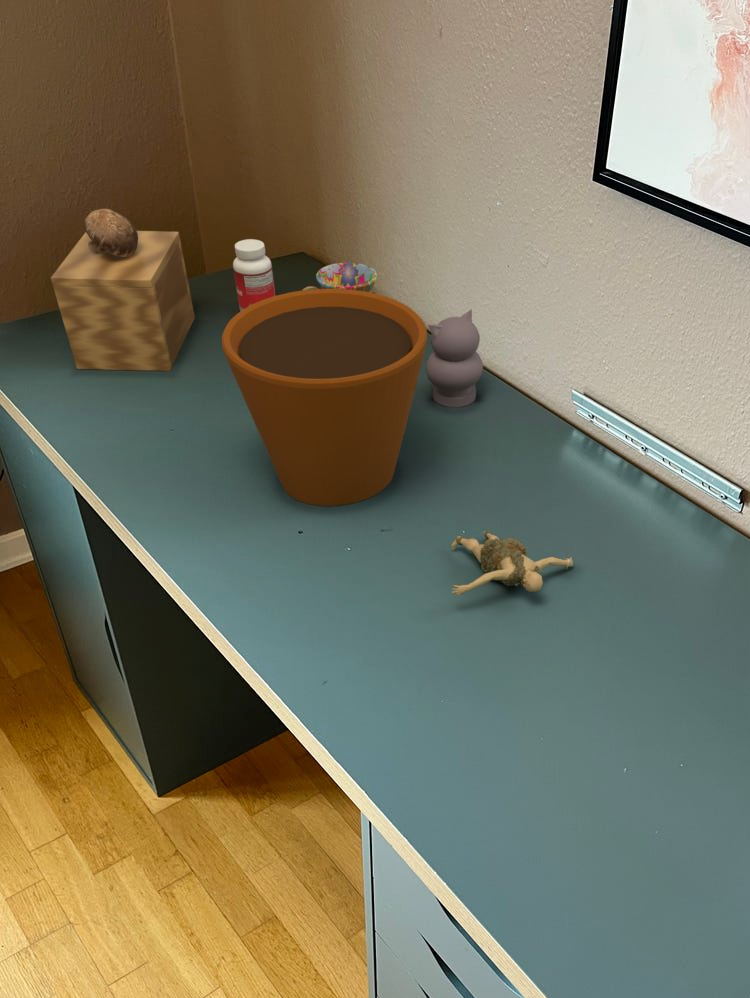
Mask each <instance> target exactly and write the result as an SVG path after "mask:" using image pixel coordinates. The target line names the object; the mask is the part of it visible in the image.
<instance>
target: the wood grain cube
mask: <svg viewBox="0 0 750 998" xmlns="http://www.w3.org/2000/svg"><path fill="white" fill-rule="evenodd" d="M136 231H137V234H138V245H137V249H136V250H135V252H134V253H133V255H131V256H127V257H121V256H116V255H114V254H112V253H110V252H108V253H106V254H96V253H94V252H92V251H91V250H90V249H89V246H88V242H89V241H90V240H91V239H90V238H89V236H88V234H87V233H86V231H85V232H84V234H83V235H82V236H81V238H80V239H79V240H78V242H77V243H76V244H75V245H74V247H73V248H72V249H71V251H70V252H69V253H68V254H67V256H66V257H65V258H64V260H63V261H62V262H61V264H60V265H59V266H58V268H57V269H56V270H55V272H54V273H53V274H52V275H51V276H50V280H51V284H52V287H53V291H54V294H55V295H54V296H55V298H56V302H57V305H58V309H59V312H60V316H61V318H62V323H63V325H64V329H65V332H66V336H67V339H68V343H69V346H70V351H71V354H72V356H73V360H74V364H75V367H76V370H103V371H105V370H106V371H111V370H112V371H154V372H155V371H157V372H170V371H171V370H172V368H173V367H174V363H175V362H176V359H177V357H178V355H179V353H180V351H181V349H182V347H183V344H184V342H185V341H186V339H187V336H188V334H189V331H190V329H191V327H192V325H193V323H194V321H195V319H196V316H195V311H194V305H193V300H192V296H191V289H190V284H189V280H188V273H187V268H186V264H185V263H186V262H185V258H184V252H183V247H182V242H181V237H180V233H179V231H163V230H162V231H161V230H136Z"/></svg>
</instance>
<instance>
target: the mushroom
mask: <svg viewBox="0 0 750 998" xmlns="http://www.w3.org/2000/svg"><path fill="white" fill-rule="evenodd" d="M84 231H85V232H86V233H87V234H88V236H89V238H90V239H91V240H90V241H89V242H88V246H89V249H90V250H91V251H92V252H94V253H96V254H106V253H108V252H110V253H112V254H114V255H116V256H121V257H127V256H131V255H133V253H134V252H135V250H136V249H137V245H138V234H137V231H138V230H137V229H136V228H135V227H134V225H133V224H132V222H131V221H130V220H129V219H128V218H126V217H125V216H124V215H122V214H121V213H120V212H117V211H114V210H112V209H110V208H101V209H95V210H92V211H91V212H90V213H89V214H88V215H87V216H86V217H85V219H84Z"/></svg>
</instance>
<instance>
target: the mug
mask: <svg viewBox="0 0 750 998" xmlns="http://www.w3.org/2000/svg"><path fill="white" fill-rule="evenodd" d="M315 279H316V281H317V283H318V285H319V287H320V288H318V287H317V286H313V285H310V286H306V287H305V288H303V289H302V290H301V291H303V290H313V289H348V290H357V291H364V292H370V293H373V290H374V287H375V284H376V281H377V279H378V273H377V270H375V269H374V268H373V267H371V266H369V265H366V264H364V263H358V262H337V263H332V264H328V265H326V266H324V267H322V268H320V269H319V270H318V271H317V273H316V274H315Z"/></svg>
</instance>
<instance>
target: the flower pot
mask: <svg viewBox="0 0 750 998" xmlns="http://www.w3.org/2000/svg"><path fill="white" fill-rule="evenodd" d="M302 290H303V289H302ZM302 290H298V291H297V290H296V291H290V292H286V293H281V294H278V295H275V296H274V297H270V298H267V299H264V300H262V301H259V302H257V303H254V304H252V305H250V306H249V307H247V308H245V309H243V310H242V311H240V310H239V312H238V313H236V314H235V315H234V316H233V317H232V318H231V319H230V320H229V321H228V323H227V324H226V326H225V327H224V329H223V332H222V335H221V345H222V351H223V354H224V356H225V358H226V361H227V363H228V365H229V368H230V370H231V372H232V374H233V377H234V379H235V381H236V384H237V386H238V388H239V390H240V392H241V395H242V397H243V399H244V402H245V404H246V406H247V409H248V411H249V413H250V415H251V418H252V420H253V422H254V424H255V427H256V429H257V432H258V434H259V436H260V438H261V440H262V442H263V445H264V447H265V449H266V452H267V454H268V457H269V459H270V461H271V464H272V466H273V468H274V470H275V473H276V475H277V477H278V479H279V481H280V484H281V486H282V488H283V490H284V491H285V493H286V495H288V496H290V497H291V498H292V499H294V500H296V501H298V502H301V503H304V504H308V505H313V506H319V507H337V506H339V507H340V506H346V505H351V504H354V503H359V502H362V501H365V500H367V499H370V498H372V497H373V496H376V495H377V494H379V493H380V492H382V491H383V490H385V489H386V488H387V487H388V485H389V484H390V483H391V482H392V480H393V478H394V474H395V471H396V470H395V469H396V467H397V462H398V458H399V456H400V455H399V454H400V451H401V447H402V443H403V438H404V434H405V431H406V427H407V423H408V419H409V415H410V411H411V407H412V403H413V399H414V395H415V391H416V387H417V384H418V379H419V375H420V372H421V367H422V363H423V360H424V355H425V351H426V347H427V343H428V331H427V326H426V325H425V322H424V321H423V319H422V318H421V317H420V315H419V314H418V313H417V312H416V311H414V310H413V309H412V308H411V307H410V306H408V305H406V304H405V303H402V302H401V301H399V300H397V299H394V298H391V297H388V296H386V295H382V294H378V293H373V292H372V293H370V292H364V291H357V290H348V289H321V288H319V289H313V290H303V291H302Z"/></svg>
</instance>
